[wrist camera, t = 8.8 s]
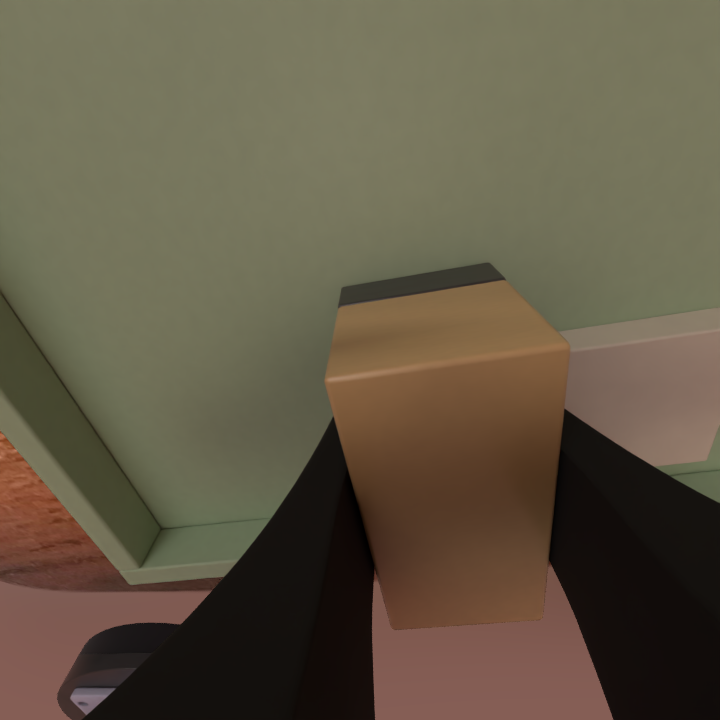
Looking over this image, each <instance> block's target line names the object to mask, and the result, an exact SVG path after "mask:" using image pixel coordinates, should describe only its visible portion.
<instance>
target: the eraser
mask: <svg viewBox="0 0 720 720" xmlns="http://www.w3.org/2000/svg"><path fill="white" fill-rule="evenodd" d="M570 349H571V348H570V344H569V342H568V341H567V340H566V339H565V338H564V337H563V336H562V335H561V334H560V333H559V332H558V331H557V330H556V329H555V328H554V327H553V326H552V325H551V324H550V323H549V322H548V321H547V320H546V319H545V318H544V317H543V316H542V315H541V314H540V313H539V312H538V311H537V310H536V309H535V308H534V307H533V306H532V305H531V304H530V303H529V302H528V301H527V300H526V299H525V298H524V297H523V296H522V295H521V294H520V293H519V292H518V291H517V290H516V289H515V288H514V287H513V286H512V285H511V284H510V283H509V282H508V281H506V279H505V277H504V276H503V275H502V274H501V273H500V272H499V271H498V270H497V269H496V268H495V267H494V266H493V265H492V264H491V263H482V264H476V265H470V266H464V267H458V268H452V269H446V270H441V271H435V272H429V273H423V274H417V275H411V276H405V277H399V278H393V279H388V280H382V281H376V282H370V283H364V284H358V285H352V286H346V287H343V288H341V293H340V299H339V304H338V312H337V317H336V322H335V327H334V333H333V338H332V343H331V348H330V353H329V359H328V364H327V369H326V374H325V379H324V383H325V387H326V390H327V394H328V398H329V401H330V405H331V409H332V412H333V416H334V420H335V423H336V427H337V431H338V434H339V438H340V442H341V445H342V449H343V453H344V456H345V460H346V464H347V467H348V471H349V475H350V478H351V482H352V486H353V489H354V493H355V497H356V500H357V504H358V508H359V511H360V515H361V519H362V522H363V526H364V530H365V533H366V537H367V541H368V544H369V548H370V552H371V555H372V559H373V563H374V566H375V570H376V574H377V577H378V581H379V584H380V588H381V592H382V595H383V599H384V603H385V607H386V610H387V614H388V618H389V621H390V625H391V627H392V629H394V630H402V629H416V628H432V627H446V626H460V625H476V624H490V623H503V622H504V623H505V622H520V621H534V620H541V619H542V618H543V612H544V602H545V592H546V582H547V573H548V572H547V571H548V563H549V553H550V544H551V534H552V524H553V515H554V505H555V495H556V485H557V476H558V466H559V456H560V447H561V437H562V427H563V417H564V408H565V398H566V388H567V379H568V369H569V359H570Z"/></svg>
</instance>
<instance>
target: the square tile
mask: <svg viewBox="0 0 720 720" xmlns="http://www.w3.org/2000/svg"><path fill="white" fill-rule="evenodd" d="M558 332H559V333H560V334H561V335H562V336H563V337H564V338H565V339H566V340H567V341H568V342H569V344H570V348H571V349H570V359H569V369H568V379H567V388H566V398H565V409H566V410H568V411H569V412H571V413H572V414H573V415H575V416H576V417H578V418H579V419H581V420H582V421H583V422H585V423H586V424H588V425H589V426H591V427H592V428H594V429H595V430H597V431H598V432H600V433H601V434H603V435H604V436H606V437H607V438H609V439H610V440H612V441H613V442H615V443H617V444H618V445H620V446H621V447H623V448H624V449H626V450H628V451H629V452H631V453H632V454H634V455H636V456H637V457H639V458H640V459H642V460H644V461H646V462H647V463H649V464H651V465H652V466H654V467H655V466H664V465H673V464H682V463H691V462H700V461H706V460H707V458H708V456H709V453H710V450H711V447H712V444H713V442H714V439H715V436H716V433H717V430H718V428H719V425H720V308H711V309H704V310H698V311H691V312H684V313H678V314H671V315H664V316H658V317H651V318H645V319H638V320H631V321H625V322H618V323H611V324H605V325H598V326H592V327H585V328H578V329H572V330H565V331H558Z"/></svg>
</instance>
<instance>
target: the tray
mask: <svg viewBox="0 0 720 720" xmlns="http://www.w3.org/2000/svg"><path fill="white" fill-rule="evenodd" d="M482 263H491V264H492V265H493V266H494V267H495V268H496V269H497V270H498V271H499V272H500V273H501V274H502V275H503V276H504V277H505V279H506V281H508V282H509V283H510V284H511V285H512V286H513V287H514V288H515V289H516V290H517V291H518V292H519V293H520V294H521V295H522V296H523V297H524V298H525V299H526V300H527V301H528V302H529V303H530V304H531V305H532V306H533V307H534V308H535V309H536V310H537V311H538V312H539V313H540V314H541V315H542V316H543V317H544V318H545V319H546V320H547V321H548V322H549V323H550V324H551V325H552V326H553V327H554V328H555V329H556V330H557V331H565V330H572V329H578V328H585V327H592V326H598V325H605V324H611V323H618V322H625V321H631V320H638V319H645V318H651V317H658V316H664V315H671V314H678V313H684V312H691V311H698V310H704V309H711V308H720V0H0V431H1V432H2V433H3V434H4V435H5V437H6V438H7V439H8V440H9V441H10V443H11V444H12V445H13V446H14V447H15V449H16V450H17V451H18V452H19V453H20V454H21V456H22V457H23V458H24V459H25V460H26V462H27V463H28V464H29V465H30V466H31V468H32V469H33V470H34V471H35V472H36V474H37V475H38V476H39V477H40V478H41V480H42V481H43V482H44V483H45V484H46V485H47V487H48V488H49V489H50V490H51V491H52V493H53V494H54V495H55V496H56V497H57V499H58V500H59V501H60V502H61V503H62V505H63V506H64V507H65V508H66V509H67V510H68V512H69V513H70V514H71V515H72V516H73V518H74V519H75V520H76V521H77V522H78V524H79V525H80V526H81V527H82V528H83V530H84V531H85V532H86V533H87V534H88V536H89V537H90V538H91V539H92V540H93V541H94V543H95V544H96V545H97V546H98V547H99V549H100V550H101V551H102V552H103V553H104V555H105V556H106V557H107V558H108V559H109V561H110V562H111V563H112V564H113V565H114V566H115V568H116V569H117V570H119V571H120V574H121V575H122V576H123V577H124V578H125V580H126V581H127V582H128V583H129V584H130V585H136V584H147V583H158V582H169V581H180V580H192V579H203V578H214V577H225V575H226V574H227V573H228V572H229V571H230V570H231V568H232V567H233V566H234V565H235V564H236V563H237V561H238V560H239V559H240V558H241V557H242V555H243V554H244V553H245V552H246V550H247V549H248V548H249V547H250V545H251V544H252V543H253V542H254V540H255V539H256V538H257V536H258V535H259V534H260V533H261V531H262V530H263V529H264V527H265V526H266V524H267V523H268V522H269V520H270V519H271V518H272V516H273V515H274V513H275V512H276V511H277V509H278V508H279V506H280V505H281V503H282V502H283V500H284V499H285V497H286V496H287V494H288V493H289V491H290V490H291V488H292V487H293V485H294V484H295V482H296V481H297V479H298V478H299V476H300V474H301V473H302V471H303V469H304V468H305V466H306V464H307V463H308V461H309V459H310V458H311V456H312V454H313V453H314V451H315V449H316V447H317V446H318V444H319V442H320V440H321V438H322V436H323V435H324V433H325V431H326V429H327V427H328V425H329V423H330V421H331V419H332V417H333V412H332V409H331V405H330V401H329V398H328V394H327V390H326V387H325V383H324V379H325V374H326V369H327V364H328V359H329V353H330V348H331V343H332V338H333V333H334V327H335V322H336V317H337V312H338V304H339V299H340V293H341V288H343V287H346V286H352V285H358V284H364V283H370V282H376V281H382V280H388V279H393V278H399V277H405V276H411V275H417V274H423V273H429V272H435V271H441V270H446V269H452V268H458V267H464V266H470V265H476V264H482ZM655 467H656V468H657V469H659V470H661V471H662V472H664V473H666V474H667V475H669V476H671V477H672V478H674V479H676V480H678V481H679V482H681V483H683V484H685V485H687V486H688V487H690V488H692V489H694V490H696V491H697V492H699V493H701V494H703V495H705V496H707V497H709V498H711V499H713V500H715V501H717V502H719V503H720V425H719V428H718V430H717V433H716V436H715V439H714V442H713V444H712V447H711V450H710V453H709V456H708V458H707V460H706V461H700V462H691V463H682V464H673V465H664V466H655Z"/></svg>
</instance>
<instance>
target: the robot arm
mask: <svg viewBox="0 0 720 720" xmlns="http://www.w3.org/2000/svg"><path fill="white" fill-rule="evenodd" d="M549 561H550V563H551V565H552V567H553V569H554V571H555V573H556V575H557V577H558V579H559V581H560V583H561V586H562V588H563V590H564V592H565V594H566V596H567V599H568V601H569V603H570V605H571V608H572V610H573V612H574V615H575V617H576V619H577V622H578V625H579V627H580V630H581V633H582V635H583V638H584V641H585V643H586V646H587V649H588V651H589V654H590V656H591V659H592V662H593V664H594V667H595V670H596V672H597V675H598V678H599V681H600V683H601V686H602V689H603V692H604V694H605V697H606V700H607V703H608V706H609V708H610V711H611V713H612V717H613V719H614V720H720V503H719V502H717V501H715V500H713V499H711V498H709V497H707V496H705V495H703V494H701V493H699V492H697V491H696V490H694V489H692V488H690V487H688V486H687V485H685V484H683V483H681V482H679V481H678V480H676V479H674V478H672V477H671V476H669V475H667V474H666V473H664V472H662V471H661V470H659V469H657V468H656V467H654V466H652V465H651V464H649V463H647V462H646V461H644V460H642V459H640V458H639V457H637V456H636V455H634V454H632V453H631V452H629V451H628V450H626V449H624V448H623V447H621V446H620V445H618V444H617V443H615V442H613V441H612V440H610V439H609V438H607V437H606V436H604V435H603V434H601V433H600V432H598V431H597V430H595V429H594V428H592V427H591V426H589V425H588V424H586V423H585V422H583V421H582V420H581V419H579V418H578V417H576V416H575V415H573V414H572V413H571V412H569V411H568V410H566V409H565V408H564V417H563V427H562V437H561V447H560V456H559V466H558V476H557V485H556V495H555V505H554V515H553V524H552V534H551V544H550V553H549ZM373 582H374V563H373V559H372V555H371V552H370V548H369V544H368V541H367V537H366V533H365V530H364V526H363V522H362V519H361V515H360V511H359V508H358V504H357V500H356V497H355V493H354V489H353V486H352V482H351V478H350V475H349V471H348V467H347V464H346V460H345V456H344V453H343V449H342V445H341V442H340V438H339V434H338V431H337V427H336V423H335V420H334V416H333V417H332V419H331V421H330V423H329V425H328V427H327V429H326V431H325V433H324V435H323V436H322V438H321V440H320V442H319V444H318V446H317V447H316V449H315V451H314V453H313V454H312V456H311V458H310V459H309V461H308V463H307V464H306V466H305V468H304V469H303V471H302V473H301V474H300V476H299V478H298V479H297V481H296V482H295V484H294V485H293V487H292V488H291V490H290V491H289V493H288V494H287V496H286V497H285V499H284V500H283V502H282V503H281V505H280V506H279V508H278V509H277V511H276V512H275V513H274V515H273V516H272V518H271V519H270V520H269V522H268V523H267V524H266V526H265V527H264V529H263V530H262V531H261V533H260V534H259V535H258V536H257V538H256V539H255V540H254V542H253V543H252V544H251V545H250V547H249V548H248V549H247V550H246V552H245V553H244V554H243V555H242V557H241V558H240V559H239V560H238V561H237V563H236V564H235V565H234V566H233V567H232V568H231V570H230V571H229V572H228V573H227V574H226V575H225V577H224V578H223V579H222V580H221V581H220V582H219V583H218V585H217V586H216V587H215V588H214V589H213V590H212V592H211V593H210V594H209V595H208V596H207V597H206V598H205V599H204V601H203V602H202V603H201V604H200V605H199V606H198V607H197V608H196V609H195V610H194V611H193V612H192V614H191V615H190V616H189V617H188V618H187V619H186V620H185V621H184V622H183V623H182V624H181V625H180V626H179V627H178V628H177V629H176V630H175V631H174V632H173V633H172V634H171V635H170V636H169V637H168V638H167V639H166V640H165V641H164V642H163V643H162V644H161V645H160V646H159V647H158V648H157V649H156V650H155V651H154V652H153V653H152V654H151V655H150V656H149V657H148V658H147V659H146V660H145V661H144V662H143V663H142V664H141V665H140V666H139V667H138V668H137V669H136V670H135V671H134V672H133V673H132V674H131V675H130V676H129V677H128V678H127V679H126V680H124V681H123V682H122V683H121V684H120V685H119V686H118V687H78V688H76V689H74V691H73V693H72V695H71V697H70V699H71V700H72V701H73V702H74V703H75V704H76V705H77V706H78V707H79V708H80V709H81V710H82V711H83V712H84V713H85V714H86V716H85V717H84V718H83V719H82V720H375V711H374V684H373V653H372V602H373Z"/></svg>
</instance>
